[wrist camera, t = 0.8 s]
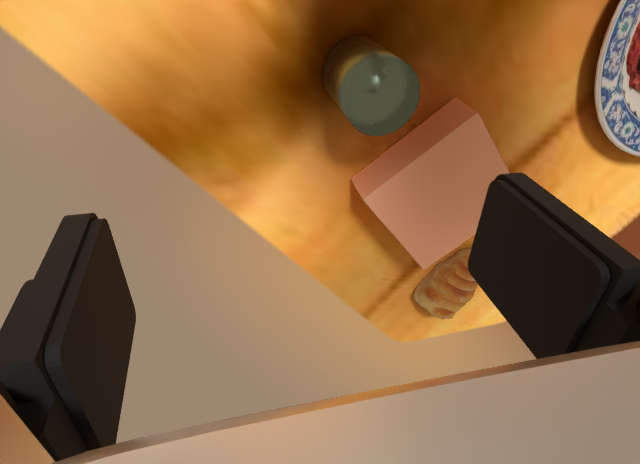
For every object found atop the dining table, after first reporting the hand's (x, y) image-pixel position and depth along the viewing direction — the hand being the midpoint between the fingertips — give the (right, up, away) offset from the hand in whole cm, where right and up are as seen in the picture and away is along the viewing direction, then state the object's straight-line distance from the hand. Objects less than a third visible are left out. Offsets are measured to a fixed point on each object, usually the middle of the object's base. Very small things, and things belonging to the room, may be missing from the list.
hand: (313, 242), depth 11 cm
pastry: (+15, -5, +42) cm, 45 cm away
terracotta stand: (+11, +6, +33) cm, 35 cm away
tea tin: (+3, +14, +25) cm, 29 cm away
